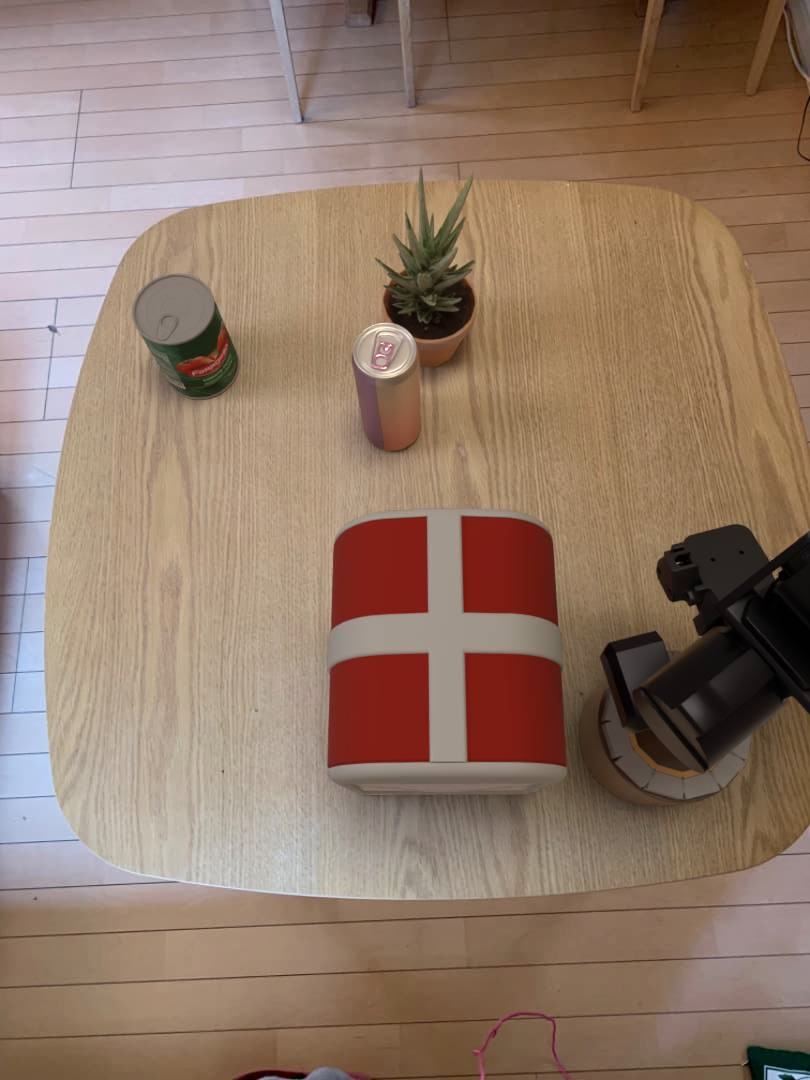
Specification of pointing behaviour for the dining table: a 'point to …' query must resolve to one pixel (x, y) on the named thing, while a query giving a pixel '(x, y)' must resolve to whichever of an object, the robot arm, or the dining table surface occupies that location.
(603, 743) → the brown cylindrical pot
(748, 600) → the robot arm
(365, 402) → the beverage can
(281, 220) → the dining table surface
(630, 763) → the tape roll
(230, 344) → the canned tomato
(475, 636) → the red gift box
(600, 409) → the dining table surface
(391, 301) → the potted plant
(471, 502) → the dining table surface
